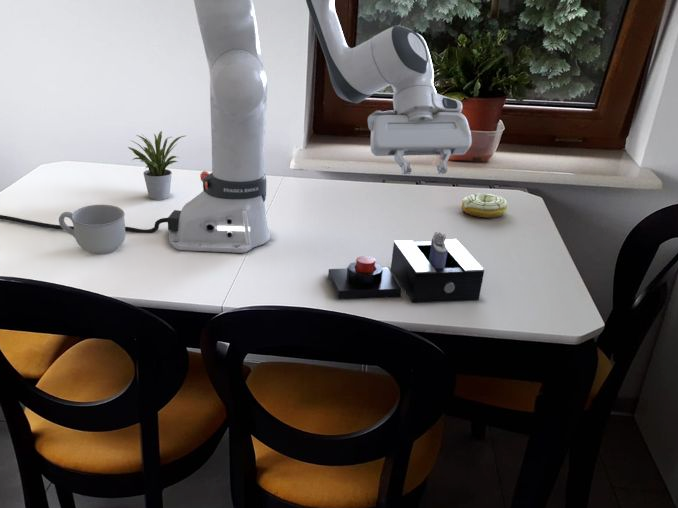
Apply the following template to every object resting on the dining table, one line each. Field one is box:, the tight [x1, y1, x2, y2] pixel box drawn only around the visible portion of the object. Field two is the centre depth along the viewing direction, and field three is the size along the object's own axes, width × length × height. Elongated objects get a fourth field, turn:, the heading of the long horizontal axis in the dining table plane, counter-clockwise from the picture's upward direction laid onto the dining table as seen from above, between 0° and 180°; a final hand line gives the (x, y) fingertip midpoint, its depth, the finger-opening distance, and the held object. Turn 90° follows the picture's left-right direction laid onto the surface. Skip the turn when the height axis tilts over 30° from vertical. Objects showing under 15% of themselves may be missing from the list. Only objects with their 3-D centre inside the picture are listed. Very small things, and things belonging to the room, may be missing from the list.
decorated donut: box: [461, 192, 508, 219], centre depth 174 cm, size 10×11×4 cm
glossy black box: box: [390, 238, 485, 304], centre depth 136 cm, size 14×16×6 cm
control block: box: [327, 261, 402, 300], centre depth 135 cm, size 12×10×4 cm
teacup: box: [58, 204, 126, 255], centre depth 148 cm, size 14×11×8 cm
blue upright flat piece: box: [429, 231, 448, 269], centre depth 135 cm, size 9×3×11 cm, turn 172°
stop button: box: [355, 255, 376, 273], centre depth 134 cm, size 4×4×2 cm
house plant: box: [127, 130, 186, 201], centre depth 176 cm, size 14×14×16 cm
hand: (424, 172), depth 140 cm, fingers open, 6 cm apart
